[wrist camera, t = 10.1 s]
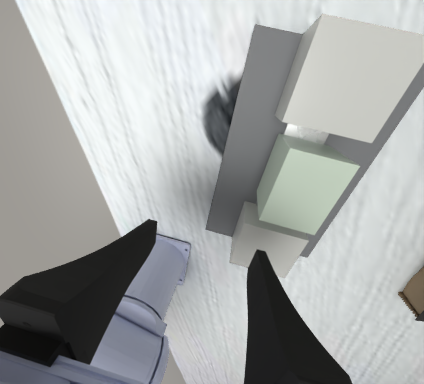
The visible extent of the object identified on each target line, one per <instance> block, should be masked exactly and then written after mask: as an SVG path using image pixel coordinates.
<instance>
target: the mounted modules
mask: <svg viewBox="0 0 424 384" xmlns="http://www.w3.org/2000/svg"><path fill="white" fill-rule="evenodd" d="M423 63H424V35H423V34H418V33H413V32H408V31H403V30H399V29H394V28H389V27H384V26H379V25H374V24H370V23H365V22H360V21H355V20H350V19H345V18H341V17H336V16H331V15H326V14H322V15H321V16H320V17H319V18H318V19H317V20H316V21H315V22H314V23H313V24H312V25H311V26H310V28H309V29H308V30H307V31H306V32H305V33H304V34H303V36H302V38H301V41H300V44H299V47H298V50H297V53H296V56H295V58H294V61H293V64H292V67H291V70H290V73H289V76H288V79H287V81H286V84H285V87H284V90H283V93H282V96H281V99H280V102H279V104H278V107H277V110H276V113H275V116H276V117H277V118H278V119H279V120H281V121H282V122H285V123H289V124H293V125H297V126H301V127H306V128H310V129H314V130H318V131H322V132H326V133H331V134H335V135H339V136H343V137H347V138H352V139H356V140H360V141H364V142H368V143H372V142H373V141H374V139H375V138H376V136H377V135H378V133H379V131H380V130H381V128H382V127H383V125H384V124H385V122H386V121H387V119H388V117H389V116H390V114H391V113H392V111H393V110H394V108H395V107H396V105H397V104H398V102H399V100H400V99H401V97H402V96H403V94H404V93H405V91H406V90H407V88H408V86H409V85H410V83H411V82H412V80H413V79H414V77H415V76H416V74H417V73H418V71H419V69H420V68H421V66H422V65H423ZM308 242H309V240H308V237H307V235H306V233H304V232H301V231H297V230H293V229H290V228H286V227H283V226H279V225H275V224H272V223H268V222H264V221H261V220H259V214H258V206H256V204H254V203H251V202H247V201H245V202H244V205H243V208H242V211H241V213H240V216H239V219H238V222H237V225H236V228H235V231H234V233H233V236H232V244H231V253H230V263H233V264H237V265H240V266H244V267H247V268H248V267H249V265H250V263H251V260H252V258H253V256H254V254H255V252H256V250H257V249H259V250H262V251H266V253H267V256H268V258H269V260H270V262H271V265H272V267H273V269H274V271H275V273H276V275H277V276H279V277H283V278H285V277H286V276H287V274H288V273H289V271H290V270H291V268H292V266H293V265H294V263H295V262H296V260H297V259H298V257H299V256H300V254H301V252H302V251H303V249H304V248H305V246H306V245H307V243H308Z"/></svg>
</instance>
